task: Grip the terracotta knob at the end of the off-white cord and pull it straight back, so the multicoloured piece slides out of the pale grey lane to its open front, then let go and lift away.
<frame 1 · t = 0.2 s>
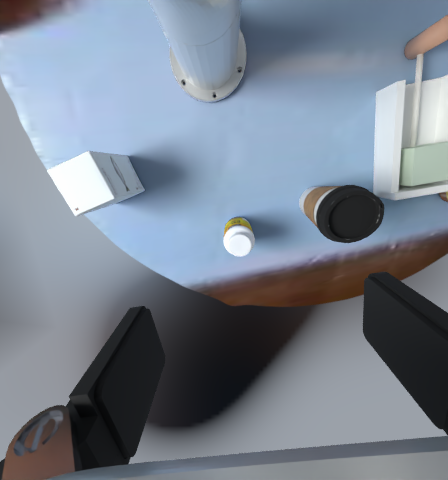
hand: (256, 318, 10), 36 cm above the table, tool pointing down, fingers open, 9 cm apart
supplement box: (121, 180, 44), on the table
multicoloured piece: (422, 111, 36), point 3 cm above the table, slide at 0.0 cm
lane: (405, 141, 40), on the table
coffee cup: (313, 201, 44), on the table
supplement bottle: (237, 228, 46), on the table
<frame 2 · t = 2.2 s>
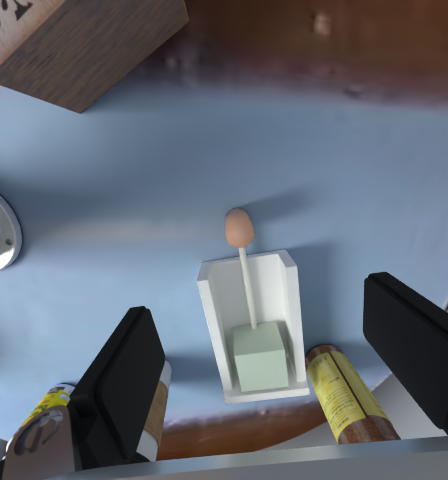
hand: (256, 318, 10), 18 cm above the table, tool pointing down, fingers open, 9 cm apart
multicoloured piece: (250, 301, 27), point 3 cm above the table, slide at 0.0 cm
lane: (252, 313, 31), on the table
coffee cup: (154, 368, 35), on the table
supplement bottle: (68, 392, 37), on the table
sauce bottle: (323, 356, 34), on the table
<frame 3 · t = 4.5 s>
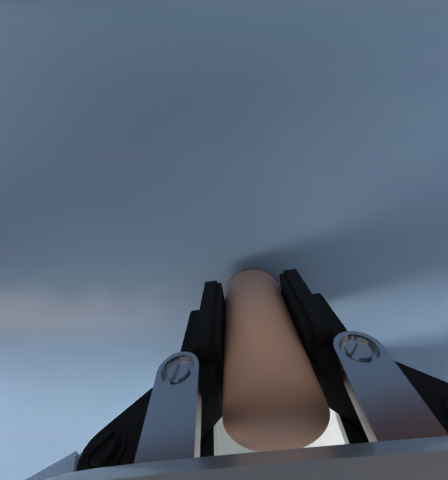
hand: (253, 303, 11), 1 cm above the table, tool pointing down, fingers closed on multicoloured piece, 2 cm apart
lane: (276, 454, 16), on the table
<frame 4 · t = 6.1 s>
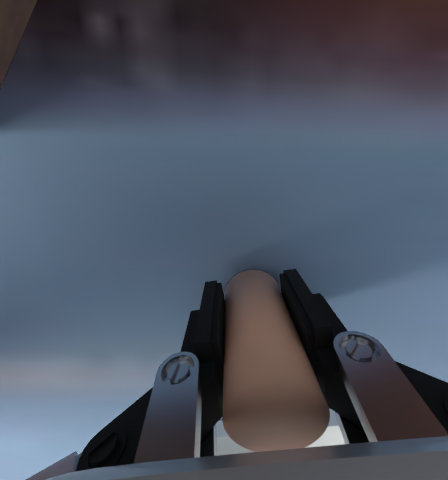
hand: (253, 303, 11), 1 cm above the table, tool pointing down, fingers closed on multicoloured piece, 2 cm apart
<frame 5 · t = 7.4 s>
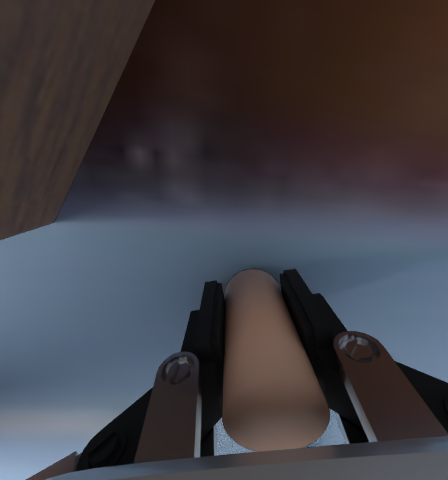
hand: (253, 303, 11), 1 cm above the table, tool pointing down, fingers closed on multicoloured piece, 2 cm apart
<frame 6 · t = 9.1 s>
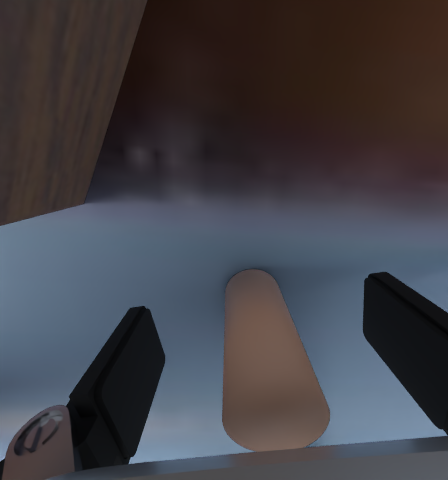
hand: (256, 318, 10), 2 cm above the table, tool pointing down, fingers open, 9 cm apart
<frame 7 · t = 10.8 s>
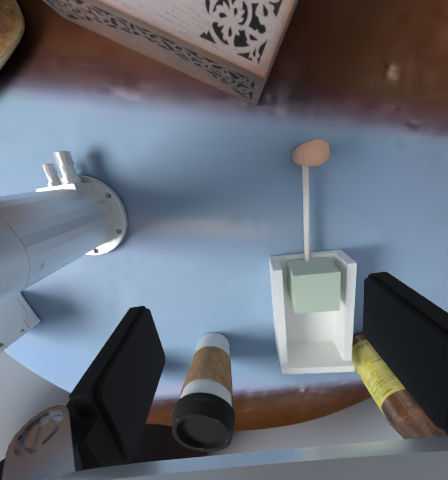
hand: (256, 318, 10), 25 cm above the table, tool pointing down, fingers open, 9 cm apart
supplement box: (17, 309, 42), on the table
multicoloured piece: (309, 230, 30), point 3 cm above the table, slide at 9.5 cm
lane: (305, 301, 37), on the table
coffee cup: (214, 343, 42), on the table
sauce bottle: (362, 344, 39), on the table
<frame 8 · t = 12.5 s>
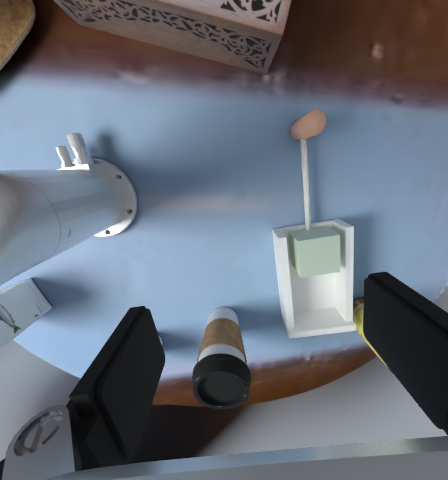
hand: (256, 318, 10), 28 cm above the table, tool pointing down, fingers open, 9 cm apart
supplement box: (28, 297, 43), on the table
multicoloured piece: (310, 199, 32), point 3 cm above the table, slide at 9.5 cm
lane: (307, 271, 40), on the table
coffee cup: (223, 318, 44), on the table
sauce bottle: (361, 309, 43), on the table
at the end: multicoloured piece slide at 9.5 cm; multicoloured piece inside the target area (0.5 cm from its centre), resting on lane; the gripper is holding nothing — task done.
